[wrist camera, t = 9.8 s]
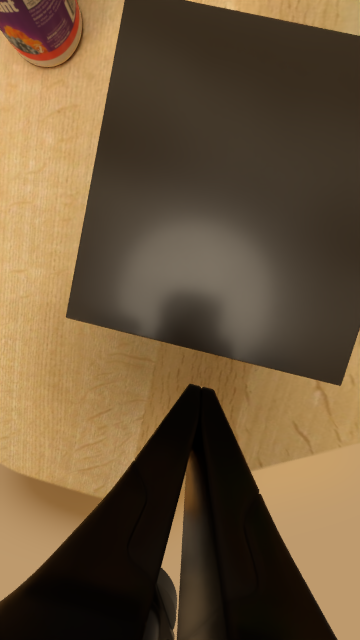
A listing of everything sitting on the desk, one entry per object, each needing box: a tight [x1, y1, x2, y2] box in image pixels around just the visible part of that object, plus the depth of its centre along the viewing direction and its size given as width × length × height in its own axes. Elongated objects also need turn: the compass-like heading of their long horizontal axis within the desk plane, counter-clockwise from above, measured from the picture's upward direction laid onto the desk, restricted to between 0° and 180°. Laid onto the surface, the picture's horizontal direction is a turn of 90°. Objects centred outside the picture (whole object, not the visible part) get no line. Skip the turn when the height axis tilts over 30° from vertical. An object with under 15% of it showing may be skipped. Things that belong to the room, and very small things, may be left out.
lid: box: [66, 0, 360, 386], centre depth 12 cm, size 14×14×1 cm
